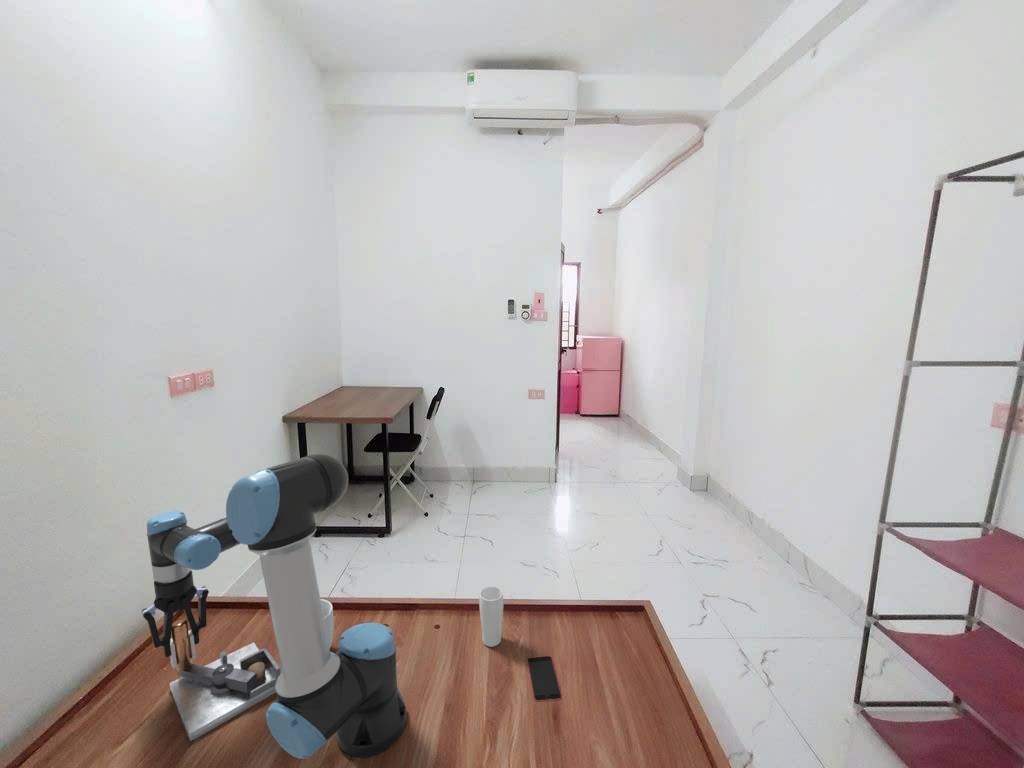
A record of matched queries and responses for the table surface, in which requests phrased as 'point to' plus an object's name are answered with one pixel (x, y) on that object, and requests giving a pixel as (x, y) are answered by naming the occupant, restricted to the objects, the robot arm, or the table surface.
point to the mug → (328, 619)
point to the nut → (258, 671)
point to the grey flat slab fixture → (222, 692)
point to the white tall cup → (491, 615)
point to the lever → (218, 676)
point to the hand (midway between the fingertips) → (183, 660)
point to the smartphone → (543, 679)
